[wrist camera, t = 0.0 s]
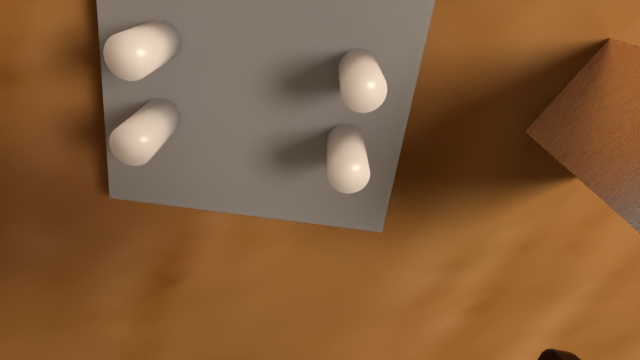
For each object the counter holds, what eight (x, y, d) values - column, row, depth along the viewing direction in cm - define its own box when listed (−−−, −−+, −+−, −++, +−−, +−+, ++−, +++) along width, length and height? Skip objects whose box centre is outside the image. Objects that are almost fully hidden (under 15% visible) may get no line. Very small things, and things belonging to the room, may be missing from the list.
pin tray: (379, 219, 23) (390, 277, 19) (120, 186, 23) (72, 238, 19) (437, -41, 18) (470, -40, 14) (104, -92, 18) (34, -108, 13)
